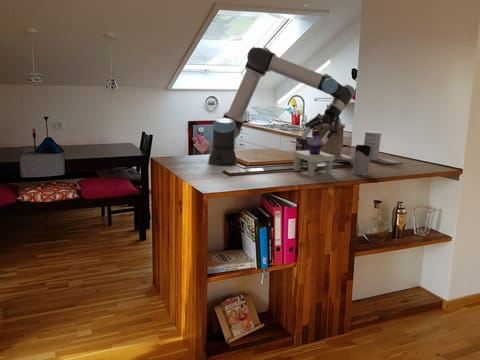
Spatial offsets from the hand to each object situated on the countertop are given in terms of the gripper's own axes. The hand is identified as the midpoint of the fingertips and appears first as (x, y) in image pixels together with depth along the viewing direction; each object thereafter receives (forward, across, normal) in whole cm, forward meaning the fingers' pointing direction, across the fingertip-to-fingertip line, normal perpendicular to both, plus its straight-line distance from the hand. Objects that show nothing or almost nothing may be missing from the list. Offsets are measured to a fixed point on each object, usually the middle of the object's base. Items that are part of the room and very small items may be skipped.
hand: (312, 140), depth 232 cm
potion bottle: (+4, 0, -7) cm, 8 cm away
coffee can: (0, +20, -24) cm, 31 cm away
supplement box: (-35, +9, -60) cm, 70 cm away
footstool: (+10, 0, -14) cm, 17 cm away
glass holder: (-6, -14, -31) cm, 35 cm away
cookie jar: (-19, +26, -44) cm, 55 cm away
